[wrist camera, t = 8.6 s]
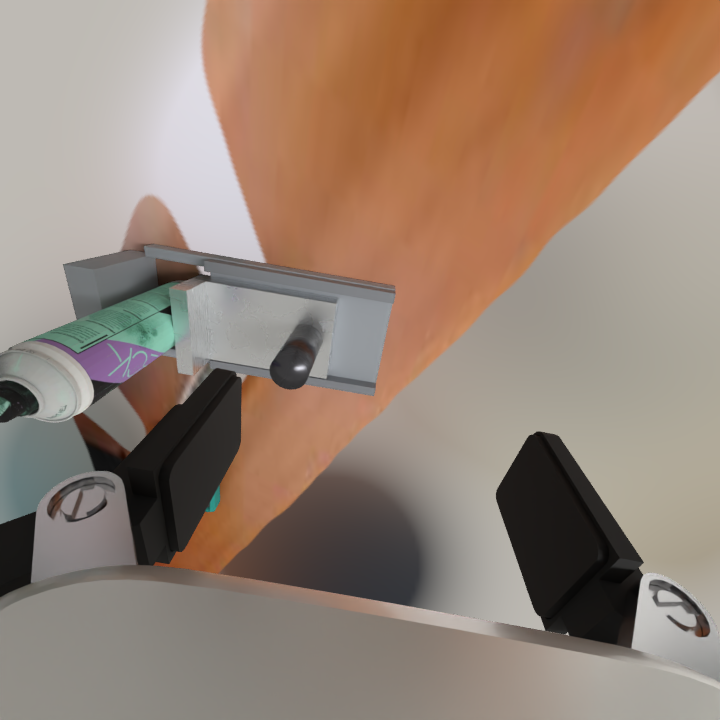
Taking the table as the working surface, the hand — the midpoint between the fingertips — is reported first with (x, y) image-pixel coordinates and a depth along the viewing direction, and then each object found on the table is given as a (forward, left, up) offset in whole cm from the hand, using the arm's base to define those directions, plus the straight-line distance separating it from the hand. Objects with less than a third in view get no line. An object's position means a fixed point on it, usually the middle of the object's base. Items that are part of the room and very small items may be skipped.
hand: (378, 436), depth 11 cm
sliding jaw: (+7, -11, -24) cm, 27 cm away
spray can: (+7, -21, -26) cm, 34 cm away
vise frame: (+7, -12, -25) cm, 29 cm away
